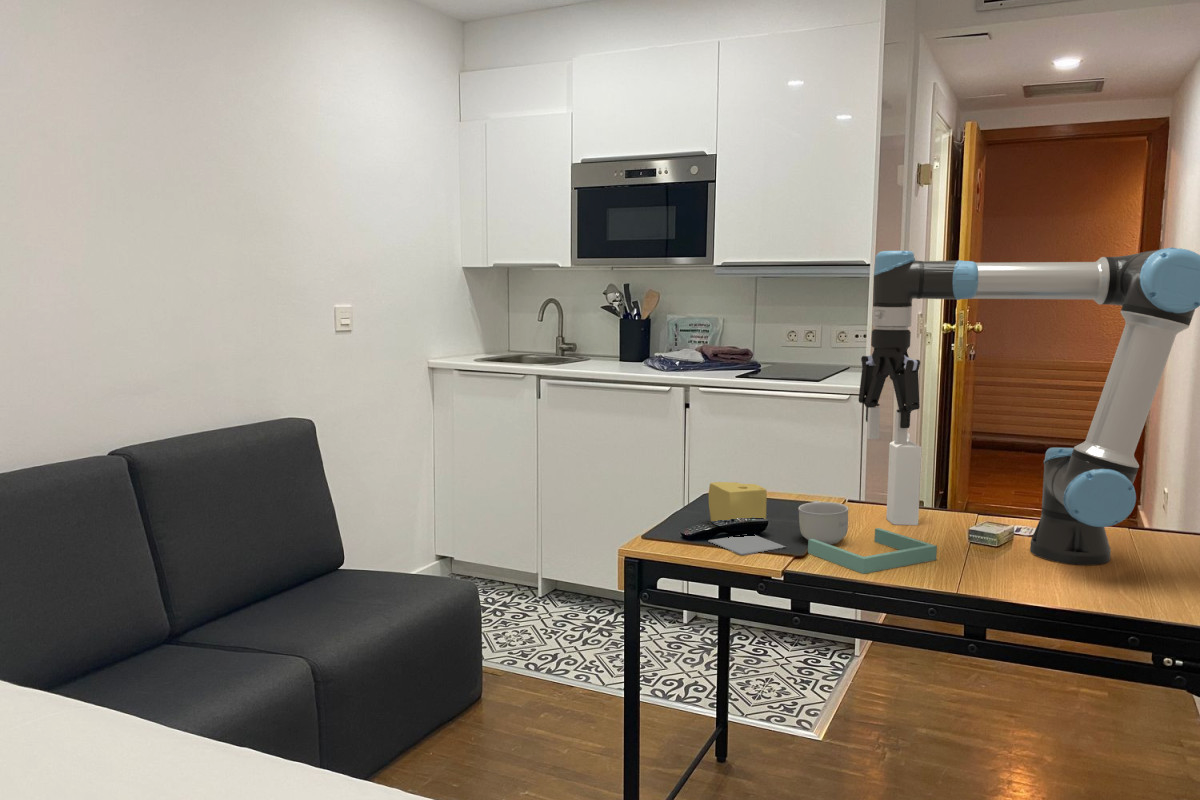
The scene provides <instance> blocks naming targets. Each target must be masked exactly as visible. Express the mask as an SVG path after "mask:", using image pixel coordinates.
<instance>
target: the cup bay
mask: <svg viewBox="0 0 1200 800" xmlns="http://www.w3.org/2000/svg"><path fill="white" fill-rule="evenodd" d="M807 542H808V543H807V554H809V555H812V556H814V557H817V558H820V559H823V560H825V561H828V562H831V563H833V564H836V565H838V566H842V567H844V568H846V569H850V570H852V571H855V572H857V573H860V574H863V575H864V574H868V573H869V574H870V573H873V572H881V571H884V570H885V571H886V570H890V569H895V568H896V569H897V568H900V567H907V566H910V565H916V564H922V563H926V562H927V563H928V562H933V561H936V560H937V553H938V552H937V551H938V549H937V548H938V546H937V545H935V544H933V543H929V542H925V541H922V540H920V539H915V538H913V537H909V536H907V535H903V534H900V533H897V532H893V531H890V530H887V529H883V528H880V527H878V528H877V527H876V528H874V543H876V544H880V545H884V546H887V547H889V548H892V549H896V550H895V551H894V550H893V551H888V552H883V553H877V554H872V555H866V556H863V555H861V554H860V555H859V554H857V553H855V552H851V551H849V550H846V549H843V548H840V547H837V546H835V545H833V544H831V545H829V544H826V543H823V542H821V541H818V540H815V539H808V540H807Z"/></svg>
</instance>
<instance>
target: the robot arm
mask: <svg viewBox="0 0 1200 800" xmlns="http://www.w3.org/2000/svg"><path fill="white" fill-rule="evenodd" d="M873 270H874V271H873V284H872V285H873V289H872V291H873V294H872V318H871V319H872V320H871V322H872V323H871V325H872V326H873V327H874V329H872V330H871V338H870V339H871V340H870V342H871V343H870V344H871V347H872V348H873V352H872V354H871V355H870V354H869V355H863V356H861V359H860V360H861V367H862V368H861V376H860V385H859V391H858V393H859V394H858V403H860V404H863V405H864V406H865V421H866V423H867V425H866V426H867V428H866V440H876V439H880V427H881V426H880V425H881V423H880V422H881V406H880V404H879V401H880V398H881V394H882V391H883V388H884V386H885V385H884V384H885V382H886V379H887V378H888V377H889V379H890V380H891V381H892V384H893V389H894V394H895V398H896V401H897V406H898V409H896V411H895V418H894V440H893V441H894V444H896V445H899V444H907V433H908V429H909V428H910V426H911V413H912V412H913V411H916V410H917V411H918V410H920V385H919V384H920V383H919V382H920V381H919V369H920V366H921V361H920V360H919V359H912V358H910V357H909V354H908V353H909V352H908V349H909V348H911V333H912V332H911V330H910V329H909V328H910V327H911V326H912V309H913V308H912V306H913V304H912V303H913V299H916V300H921V299H922V300H925V299H926V300H956V301H959V300H971V299H974V300H975V299H980V300H983V299H984V300H986V299H987V300H989V299H990V300H991V299H992V300H993V299H994V300H995V299H997V300H1002V299H1003V300H1007V299H1008V300H1025V299H1026V300H1092V301H1094V302H1095V303H1097V305H1112V306H1119V307H1121V309H1120V312H1119V313H1120V314H1121V317H1122V318H1123V320H1124V322H1125V325H1124V328H1123V331H1122V333H1121V337H1120V339H1119V342H1118V345H1117V347H1116V350H1115V354H1114V357H1113V360H1112V363H1111V366H1110V368H1109V372H1108V375H1107V377H1106V380H1105V383H1104V385H1103V389H1102V391H1101V394H1100V397H1099V400H1098V403H1097V406H1096V409H1095V411H1094V416H1093V418H1092V420H1091V424H1090V426H1089V430H1088V432H1087V435H1086V438H1085V441H1083V442H1082V443H1079V444H1078V445H1075V446H1073V447H1049V448H1048V449H1047V450H1046V451H1045V454H1044V455H1045V456H1044V460H1043V481H1042V482H1043V483H1042V499H1041V516H1040V519H1039V521H1038V523H1037V525H1036V528H1035V530H1034V532H1033V535H1032V537H1031V539H1030V548H1029V551H1030V553H1032V554H1033V555H1034V556H1036V557H1039V558H1041V559H1045V560H1048V561H1052V562H1057V563H1062V564H1068V565H1069V564H1071V565H1078V566H1079V565H1081V566H1096V565H1103V564H1108V563H1109V562H1110V561H1111V553H1112V552H1111V546H1110V544H1109V540H1108V536H1107V533H1106V532H1107V531H1106V529H1105V528H1106V527H1107V528H1109V527H1111V526H1116V525H1117V524H1120V523H1121V522H1123V521H1124V520H1126V519H1127V518H1128V517H1129V516H1130V515H1131V513H1132V512H1133V510H1134V508H1135V506H1136V502H1137V493H1136V490H1135V486H1134V482H1135V480H1136V476H1137V473H1138V470H1139V468H1140V465H1139V463H1138V461H1137V458H1136V457H1135V452H1136V450H1137V446H1138V444H1139V442H1140V437H1141V436H1142V433H1143V429H1144V426H1145V425H1146V421H1147V418H1148V415H1149V413H1150V410H1151V407H1152V404H1153V401H1154V398H1155V396H1156V394H1157V391H1158V387H1159V385H1160V381H1161V379H1162V376H1163V375H1164V374H1163V373H1164V370H1165V367H1166V365H1167V362H1168V359H1169V356H1170V354H1171V350H1172V348H1173V345H1174V343H1175V339H1176V337H1177V335H1178V334H1179V333H1180V332H1183V331H1185V330H1187V329H1189V328H1190V324H1191V322H1192V320H1193V317H1194V314H1195V311H1196V309H1198V308H1199V307H1200V254H1199V253H1197V252H1196V251H1194V250H1193V251H1192V250H1189V249H1186V248H1180V247H1179V248H1177V247H1166V248H1161V249H1156V250H1149V251H1148V250H1147V251H1144V252H1138V253H1134V254H1127V255H1121V256H1120V255H1119V256H1101V257H1100V258H1099V259H1097V260H1096V261H1065V262H1064V261H1060V262H1059V261H1058V262H1057V261H1055V262H1054V261H1051V262H1050V261H1046V262H1045V261H1044V262H1043V261H1042V262H1041V261H1040V262H1039V261H1038V262H1035V261H1032V262H1030V261H1029V262H1026V261H1021V262H1012V261H1011V262H975V261H973V260H962V259H961V260H960V259H958V260H928V261H925V260H923V261H922V260H916V258H915V253H914V252H913V251H912V250H883V251H879V252H878V253H877V254H876V255H875V258H874V269H873Z"/></svg>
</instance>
